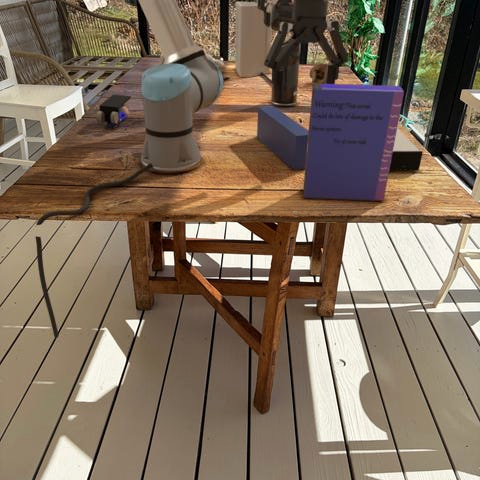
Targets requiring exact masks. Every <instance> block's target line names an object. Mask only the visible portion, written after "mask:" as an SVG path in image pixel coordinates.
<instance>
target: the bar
mask: <svg viewBox="0 0 480 480" xmlns="http://www.w3.org/2000/svg"><path fill="white" fill-rule="evenodd" d="M256 121H257V122H256V123H257V125H256V137H257V139H259V141H261V142H262V143H263V144H264V145H265V146H266V147H267V148H268V149H270V150H271V151H272V152H273V153H274V154H275V155H277V156H278V157H279V158H280V159H281V160H282V161H283V162H284V163H285V164H286V165H287V166H289V167H290V168H291V169H292V170H293V171H298V170H305V164H306V153H307V142H308V131H309V129H307V128H306V127H304V126H303V125H301V124H300V123H299V122H297V121H295V120H294V119H292V118H291V117H290V116H288V115H287V114H286V113H284V112H283V111H281V110H280V109H278V108H277V107H276V106H275V105H266V106H265V105H264V106H258V107H257V120H256Z"/></svg>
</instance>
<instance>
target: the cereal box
mask: <svg viewBox="0 0 480 480" xmlns="http://www.w3.org/2000/svg"><path fill="white" fill-rule="evenodd" d="M404 94H405V91H404V90H403V88H402V87H401V86H399V85H380V84H379V85H377V84H376V85H375V84H344V83H343V84H341V83H335V84H315V83H312V87H311V99H310V109H309V120H308V121H309V122H308V142H307V153H306V164H305V169H304V177H303V188H302V189H303V190H302V191H303V197H304V199H317V200H343V201H344V200H345V201H346V200H347V201H366V202H367V201H368V202H369V201H370V202H384V201H385V195H386V190H387V184H388V178H389V174H390V171H389V169H390V164H391V158H392V153H393V148H394V142H395V137H396V132H397V128H399V127H398V126H399V120H400V115H401V111H402V104H403V100H404V99H403V98H404Z"/></svg>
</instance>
